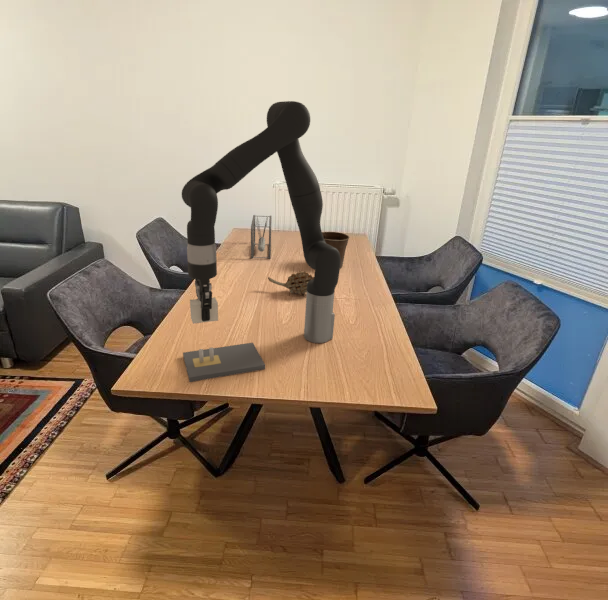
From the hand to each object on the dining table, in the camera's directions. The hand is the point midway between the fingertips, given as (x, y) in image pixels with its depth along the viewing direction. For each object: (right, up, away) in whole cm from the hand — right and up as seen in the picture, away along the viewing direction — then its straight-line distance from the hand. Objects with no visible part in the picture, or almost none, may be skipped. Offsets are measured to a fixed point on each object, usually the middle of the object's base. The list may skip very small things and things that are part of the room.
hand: (204, 316), depth 116 cm
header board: (+4, -14, +8) cm, 17 cm away
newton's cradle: (+4, +32, +115) cm, 120 cm away
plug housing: (0, -1, 0) cm, 1 cm away
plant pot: (+42, +22, +99) cm, 110 cm away
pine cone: (+22, +8, +62) cm, 67 cm away
